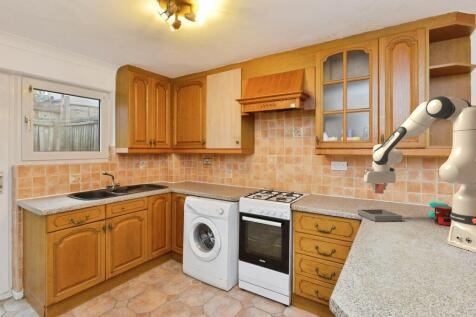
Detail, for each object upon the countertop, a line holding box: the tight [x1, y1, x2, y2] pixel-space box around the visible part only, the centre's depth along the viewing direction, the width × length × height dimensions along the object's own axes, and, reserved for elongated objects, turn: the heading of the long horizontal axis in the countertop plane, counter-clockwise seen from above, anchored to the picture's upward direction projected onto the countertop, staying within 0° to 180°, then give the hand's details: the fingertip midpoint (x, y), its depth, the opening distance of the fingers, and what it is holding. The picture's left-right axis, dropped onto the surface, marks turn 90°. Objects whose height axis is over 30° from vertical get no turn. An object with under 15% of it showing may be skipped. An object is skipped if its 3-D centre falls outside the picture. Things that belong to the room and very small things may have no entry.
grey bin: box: [357, 208, 403, 223], centre depth 165 cm, size 18×18×4 cm
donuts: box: [428, 201, 449, 219], centre depth 166 cm, size 10×10×10 cm
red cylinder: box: [374, 183, 385, 195], centre depth 165 cm, size 5×5×6 cm
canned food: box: [433, 205, 452, 227], centre depth 151 cm, size 8×8×11 cm
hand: (379, 189), depth 165 cm, fingers closed on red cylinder, 5 cm apart
